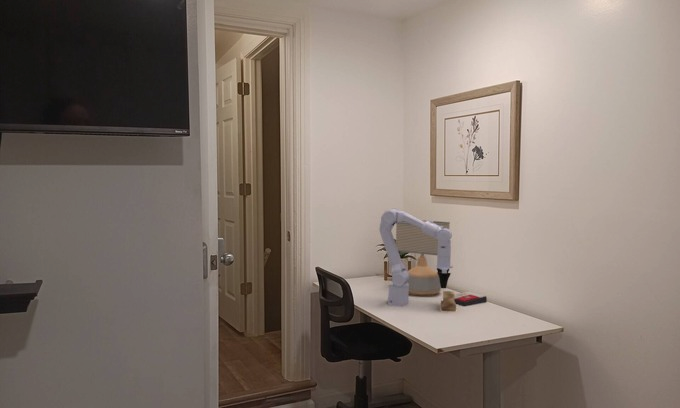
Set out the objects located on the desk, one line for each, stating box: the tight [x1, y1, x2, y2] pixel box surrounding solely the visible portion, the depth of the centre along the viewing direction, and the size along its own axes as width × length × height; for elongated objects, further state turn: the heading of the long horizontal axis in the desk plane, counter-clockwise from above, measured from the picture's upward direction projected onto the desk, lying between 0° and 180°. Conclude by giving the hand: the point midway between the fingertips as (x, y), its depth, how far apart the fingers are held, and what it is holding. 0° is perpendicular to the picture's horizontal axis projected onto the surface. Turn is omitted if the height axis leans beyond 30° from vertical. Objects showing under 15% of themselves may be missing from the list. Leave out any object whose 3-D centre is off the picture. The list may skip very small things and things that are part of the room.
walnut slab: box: [440, 300, 457, 313], centre depth 227 cm, size 6×6×3 cm
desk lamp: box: [395, 219, 450, 297], centre depth 258 cm, size 22×19×37 cm
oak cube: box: [442, 290, 455, 304], centre depth 227 cm, size 4×4×4 cm
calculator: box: [454, 291, 487, 307], centre depth 241 cm, size 11×4×15 cm
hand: (443, 286), depth 229 cm, fingers open, 7 cm apart
